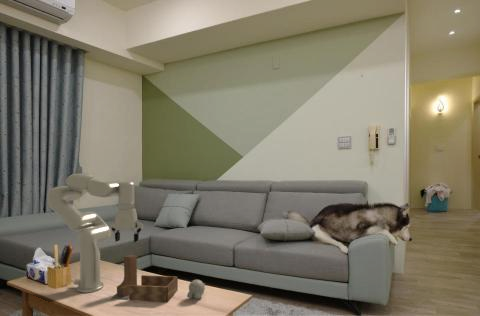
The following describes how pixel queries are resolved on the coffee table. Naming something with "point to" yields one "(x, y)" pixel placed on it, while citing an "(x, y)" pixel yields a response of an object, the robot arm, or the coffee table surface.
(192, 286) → the toy rhinoceros
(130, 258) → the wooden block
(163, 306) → the coffee table surface
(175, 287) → the crate
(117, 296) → the mat
